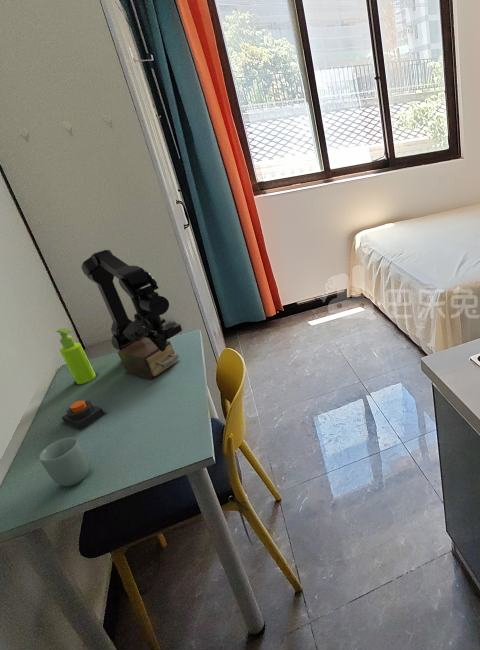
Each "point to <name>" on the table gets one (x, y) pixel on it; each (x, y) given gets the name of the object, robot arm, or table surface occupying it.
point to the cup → (65, 461)
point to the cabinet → (139, 357)
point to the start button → (78, 406)
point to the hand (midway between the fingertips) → (163, 350)
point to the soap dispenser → (75, 358)
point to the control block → (83, 415)
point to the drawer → (162, 360)
